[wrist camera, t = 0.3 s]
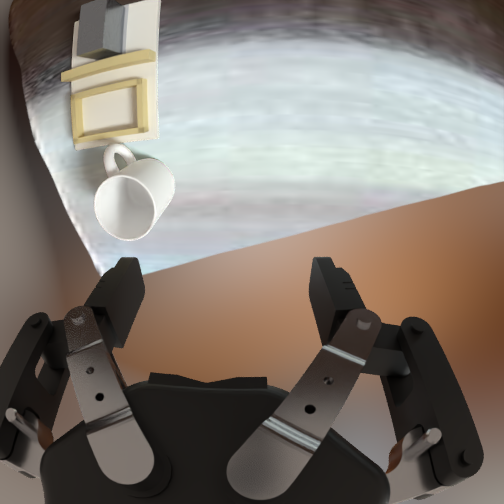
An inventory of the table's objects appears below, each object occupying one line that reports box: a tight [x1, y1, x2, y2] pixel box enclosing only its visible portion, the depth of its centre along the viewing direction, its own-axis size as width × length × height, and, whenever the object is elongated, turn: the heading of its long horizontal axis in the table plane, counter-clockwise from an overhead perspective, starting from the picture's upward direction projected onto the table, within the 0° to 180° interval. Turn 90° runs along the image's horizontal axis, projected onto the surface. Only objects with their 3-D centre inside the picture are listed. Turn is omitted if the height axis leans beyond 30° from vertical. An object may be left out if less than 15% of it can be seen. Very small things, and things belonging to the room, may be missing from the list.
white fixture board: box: [61, 0, 161, 151], centre depth 28 cm, size 22×14×4 cm, turn 179°
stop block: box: [77, 0, 125, 60], centre depth 22 cm, size 8×4×6 cm, turn 179°
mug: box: [94, 143, 175, 241], centre depth 33 cm, size 12×8×10 cm
